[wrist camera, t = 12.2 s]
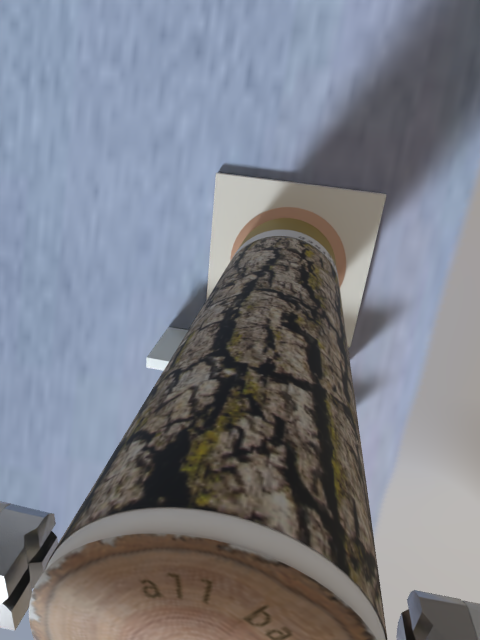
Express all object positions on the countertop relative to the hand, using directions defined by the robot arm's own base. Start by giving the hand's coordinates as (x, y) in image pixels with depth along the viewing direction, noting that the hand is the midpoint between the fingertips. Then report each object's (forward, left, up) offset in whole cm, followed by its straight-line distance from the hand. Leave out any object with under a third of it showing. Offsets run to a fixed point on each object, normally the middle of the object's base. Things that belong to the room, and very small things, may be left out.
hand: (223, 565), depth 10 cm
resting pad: (0, 0, -24) cm, 24 cm away
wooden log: (0, 0, -23) cm, 23 cm away
